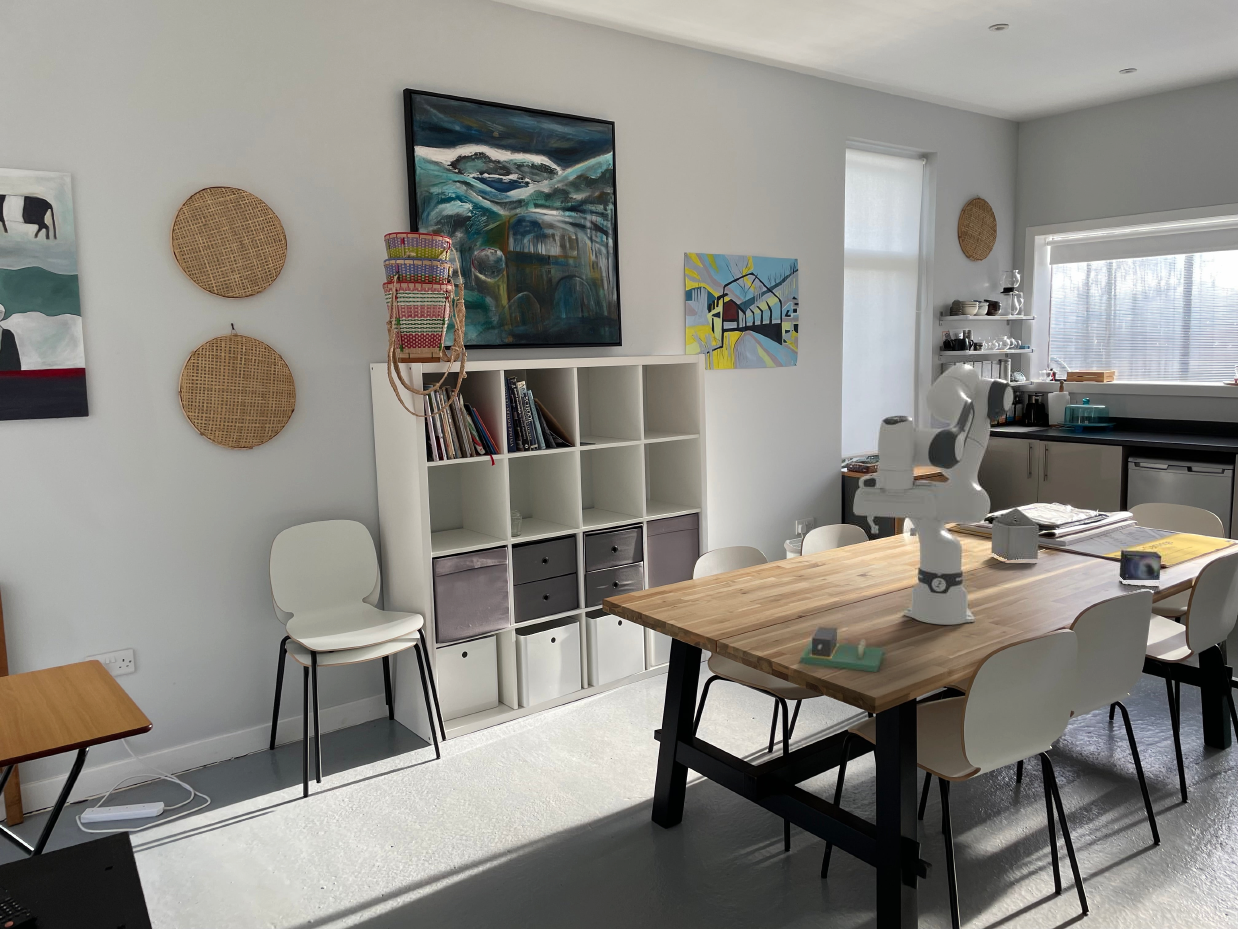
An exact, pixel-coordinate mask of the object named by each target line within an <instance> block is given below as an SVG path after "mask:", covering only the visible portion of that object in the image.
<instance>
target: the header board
mask: <svg viewBox="0 0 1238 929" xmlns="http://www.w3.org/2000/svg"><path fill="white" fill-rule="evenodd" d="M884 653H885V649H884V648H883V647H876V646H874V647H873V646H866V639H860V642H859V644H858V645H855V644H848V643H847V644H845V643H838V642H837V646H836V647H835V649H834V651H833V653H832V655H831V656H830V657H825V656H816V655H812V640H811V641H810V642H809V644H808V645H807V647H806V648H805V650H804V652H802V654H801V656H800V664H804V665H805V664H806V665H815V666H824V667H831V668H839V669H848V670H849V669H850V670H857V671H866V672H871V673H872V672H873V673H878V670H879V668H880V666H881V663H882V660H883V657H884V655H885V654H884Z"/></svg>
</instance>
